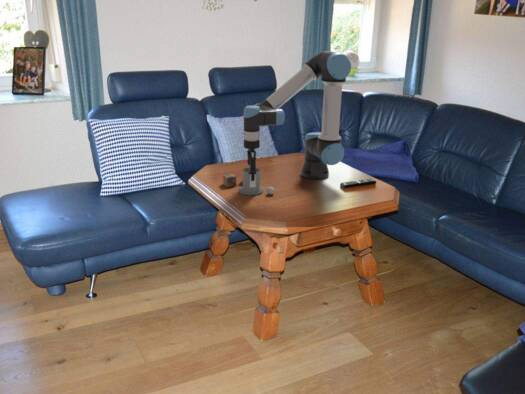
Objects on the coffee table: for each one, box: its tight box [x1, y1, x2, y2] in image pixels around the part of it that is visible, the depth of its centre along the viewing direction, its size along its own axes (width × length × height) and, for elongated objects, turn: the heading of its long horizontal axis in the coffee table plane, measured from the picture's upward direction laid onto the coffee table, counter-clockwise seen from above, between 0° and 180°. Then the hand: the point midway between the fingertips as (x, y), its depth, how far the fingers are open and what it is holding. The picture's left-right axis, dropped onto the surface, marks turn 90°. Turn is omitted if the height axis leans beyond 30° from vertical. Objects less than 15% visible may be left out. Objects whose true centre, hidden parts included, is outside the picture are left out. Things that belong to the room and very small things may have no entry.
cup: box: [242, 167, 261, 192], centre depth 247 cm, size 8×8×10 cm
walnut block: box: [222, 173, 237, 188], centre depth 257 cm, size 5×5×5 cm
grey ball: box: [266, 186, 275, 196], centre depth 245 cm, size 4×4×4 cm
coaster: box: [238, 186, 264, 196], centre depth 249 cm, size 12×12×1 cm
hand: (251, 182), depth 248 cm, fingers open, 13 cm apart
